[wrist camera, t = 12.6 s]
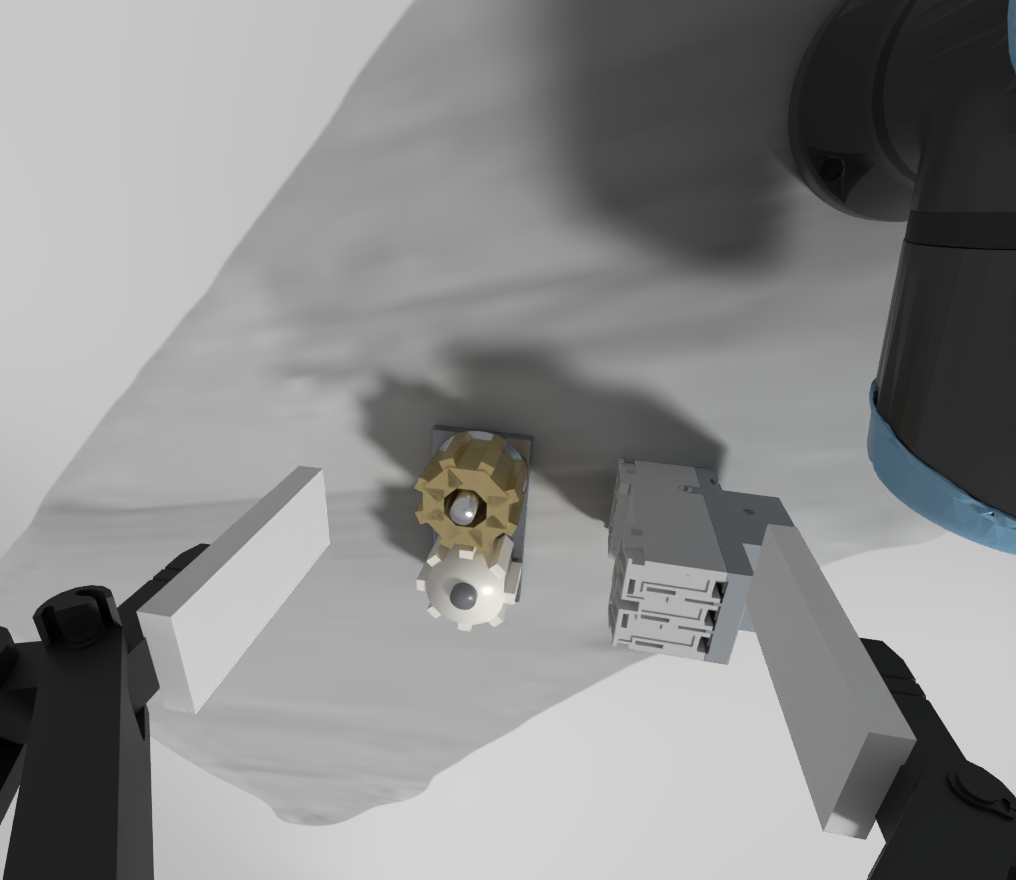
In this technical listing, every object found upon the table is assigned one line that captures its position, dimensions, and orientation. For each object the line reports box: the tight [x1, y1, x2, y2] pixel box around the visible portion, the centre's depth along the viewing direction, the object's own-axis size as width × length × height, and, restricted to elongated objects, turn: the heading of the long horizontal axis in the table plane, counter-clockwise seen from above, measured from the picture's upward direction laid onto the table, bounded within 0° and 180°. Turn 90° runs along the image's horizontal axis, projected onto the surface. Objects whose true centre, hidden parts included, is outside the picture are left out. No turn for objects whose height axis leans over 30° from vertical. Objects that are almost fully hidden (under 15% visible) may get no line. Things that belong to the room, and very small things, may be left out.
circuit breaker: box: [608, 458, 795, 665], centre depth 44 cm, size 8×14×15 cm, turn 86°
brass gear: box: [414, 431, 528, 553], centre depth 49 cm, size 9×9×6 cm
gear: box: [417, 535, 522, 631], centre depth 53 cm, size 9×9×6 cm
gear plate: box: [432, 425, 532, 602], centre depth 51 cm, size 9×18×8 cm, turn 177°
